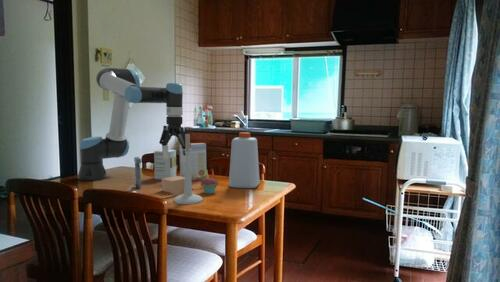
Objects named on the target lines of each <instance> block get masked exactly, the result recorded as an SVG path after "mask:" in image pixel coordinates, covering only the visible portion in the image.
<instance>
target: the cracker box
mask: <svg viewBox="0 0 500 282" xmlns="http://www.w3.org/2000/svg"><path fill="white" fill-rule="evenodd" d="M190 145H191V147H190V149H192V150H191V154H190V165H191V181H198V182H201V181H202V180H203V179H205V178H207V174H206V169H207V143H205V142H195V143H194V142H190ZM178 146H179V176H181V177H185V162H181V148H182V146H181V144H180V143H179V145H178ZM184 146H185V145H184Z"/></svg>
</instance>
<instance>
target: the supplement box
mask: <svg viewBox="0 0 500 282" xmlns="http://www.w3.org/2000/svg"><path fill="white" fill-rule="evenodd" d="M162 150H163V149H160V150H155V151H153V153H154V154H153V155H154V156H153V159H154V165H153V166H154V180H160V181H162V179H164V178H169V177H175V176H177V150H176V149H168V159H163V151H162Z"/></svg>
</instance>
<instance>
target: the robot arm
mask: <svg viewBox="0 0 500 282" xmlns="http://www.w3.org/2000/svg"><path fill="white" fill-rule="evenodd" d="M95 76H96V78H95V80H96V84H97V85H98V87H100V88H101V89H102V90H105V91H111V92H113V94H114V97H113V102H112V103H113V104H112V111H111V118H110V123H109V131H108V132H107V133H106V134H105V137H104V138H103V136H91V137H87V138H82V139H81V140H80V142H79V151H80V153H79V155H80V167H79V170H78V175H77V179H78V180H80V181H97V180H99V181H100V180H103V179H106V178H108V177H107V171H106V169H105V166H104V161H103V160H104V159H105V160H106V159H113V158H115V159H116V158H122V157H124V156H126V155H127V154H128V152H129V150H130V141H129V139H128V138H127V135H126V134H125V132H126V127H127V121H128V114H129V107H130V104H166V106H165V107H166V113H165V114H166V119H165V120H166V125H163V126H162V128H163V129H162V133H161V136H160V138H159V144H160V145H161V146H162V148H161V150H162V151H163V159H168V150H169V142H170V141H171V138H172V137H173V136H174V137H176V138H177V140H178V142H179V144H181V146H182V148H181V162H185V159H186V154H185V151H184V149H185V146H184V145H185V134H187V133H188V132H187V127H186V126H182V125H183V109H184V108H183V100H184V99H183V98H184V97H183V96H184V95H183V93H184V90H183V85H182V83H179V82H177V83H176V82H174V83H173V82H167V83H166V86H165V87H161V86H160V87H158V86H157V87H154V86H152V87H150V86H140V84H141V81H140V76H139V74H138V72H137V71H136V70H134V69H129V68H117V67H116V68H115V67H106V68H102V69H100V70H99V71H98V73H97V75H95ZM190 147H191V145H190Z"/></svg>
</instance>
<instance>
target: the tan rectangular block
mask: <svg viewBox="0 0 500 282" xmlns="http://www.w3.org/2000/svg"><path fill="white" fill-rule="evenodd" d="M184 184H185V177H181V176H180V175H176V176H175V177H169V178H164V179H162V180H161V192H162V191H163V192H167V193H170V194H166V195H165V197H168V196H172V197H174V196H179V195H183V194H184Z"/></svg>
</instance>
